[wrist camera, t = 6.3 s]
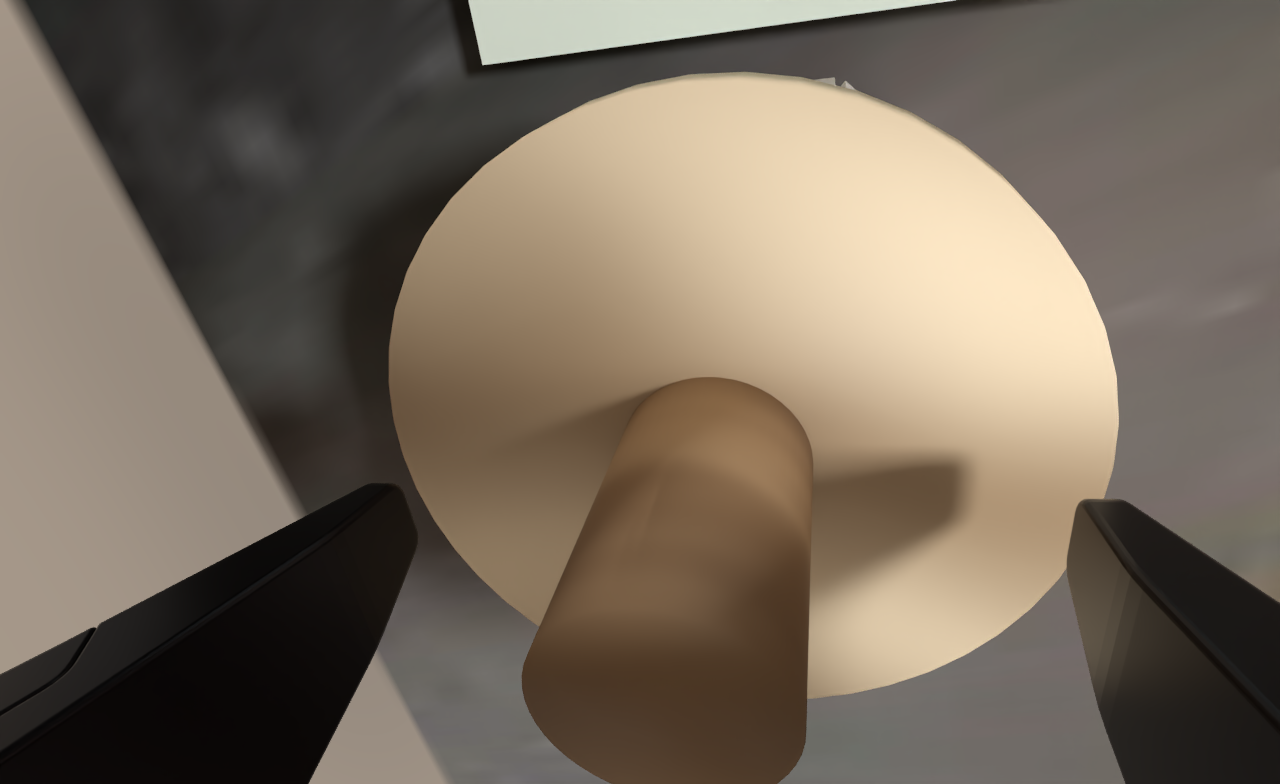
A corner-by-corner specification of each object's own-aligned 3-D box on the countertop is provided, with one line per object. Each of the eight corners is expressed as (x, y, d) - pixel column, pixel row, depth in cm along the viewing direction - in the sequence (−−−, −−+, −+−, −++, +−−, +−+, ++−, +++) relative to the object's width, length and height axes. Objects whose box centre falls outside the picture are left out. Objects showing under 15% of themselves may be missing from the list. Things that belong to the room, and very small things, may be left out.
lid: (1043, 684, 12) (1159, 1063, 8) (493, 638, 14) (360, 908, 10) (1172, 17, 7) (1622, 84, 3) (329, 117, 10) (-37, 229, 6)
